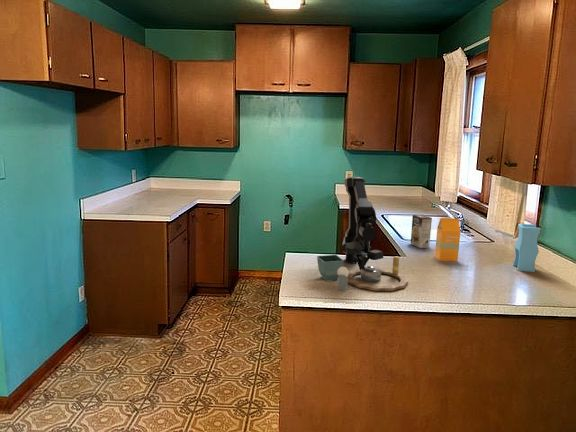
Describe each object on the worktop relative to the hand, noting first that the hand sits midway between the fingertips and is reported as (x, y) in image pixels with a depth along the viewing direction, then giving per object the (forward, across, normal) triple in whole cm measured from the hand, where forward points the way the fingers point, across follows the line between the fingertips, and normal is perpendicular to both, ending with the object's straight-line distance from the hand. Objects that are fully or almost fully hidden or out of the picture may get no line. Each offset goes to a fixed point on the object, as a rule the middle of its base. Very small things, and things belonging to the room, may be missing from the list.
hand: (361, 270), depth 199 cm
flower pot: (+3, -5, -14) cm, 15 cm away
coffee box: (+3, -16, +64) cm, 66 cm away
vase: (+2, +37, +69) cm, 78 cm away
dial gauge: (+2, +7, -18) cm, 20 cm away
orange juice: (+2, +6, +53) cm, 54 cm away
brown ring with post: (+2, +8, 0) cm, 9 cm away
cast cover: (+2, +5, 0) cm, 6 cm away
